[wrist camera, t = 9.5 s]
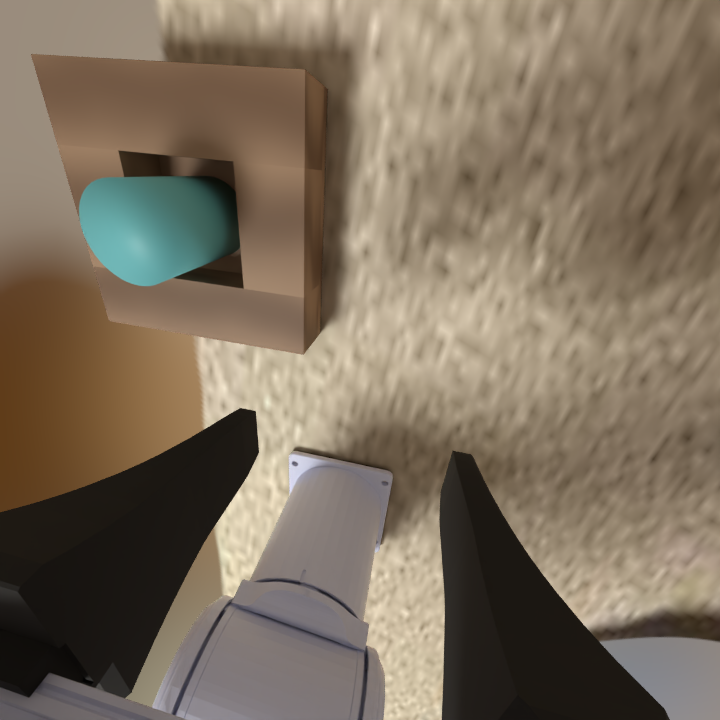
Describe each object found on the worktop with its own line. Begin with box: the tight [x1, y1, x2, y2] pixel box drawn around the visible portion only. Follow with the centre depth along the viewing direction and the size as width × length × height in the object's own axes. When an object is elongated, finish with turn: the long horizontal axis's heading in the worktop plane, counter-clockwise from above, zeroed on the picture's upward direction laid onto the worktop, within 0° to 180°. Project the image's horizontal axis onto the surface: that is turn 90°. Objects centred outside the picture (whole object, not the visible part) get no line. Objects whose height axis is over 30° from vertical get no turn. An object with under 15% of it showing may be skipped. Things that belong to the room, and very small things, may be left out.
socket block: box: [31, 54, 328, 355], centre depth 17 cm, size 12×12×3 cm
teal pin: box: [79, 176, 240, 286], centre depth 16 cm, size 4×4×6 cm
